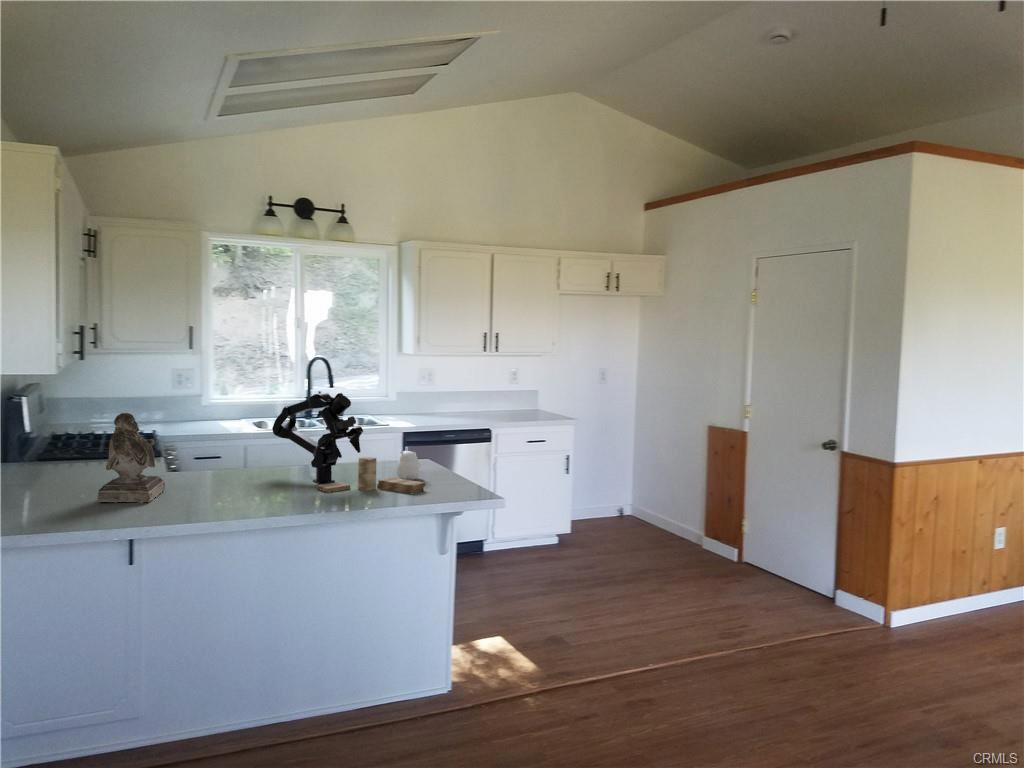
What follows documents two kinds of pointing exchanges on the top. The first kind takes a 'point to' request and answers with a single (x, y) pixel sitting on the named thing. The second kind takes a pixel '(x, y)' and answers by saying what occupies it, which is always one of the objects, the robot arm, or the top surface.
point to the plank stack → (400, 485)
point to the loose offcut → (333, 486)
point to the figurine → (408, 466)
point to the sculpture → (130, 465)
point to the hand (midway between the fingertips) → (350, 454)
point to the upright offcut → (367, 473)
